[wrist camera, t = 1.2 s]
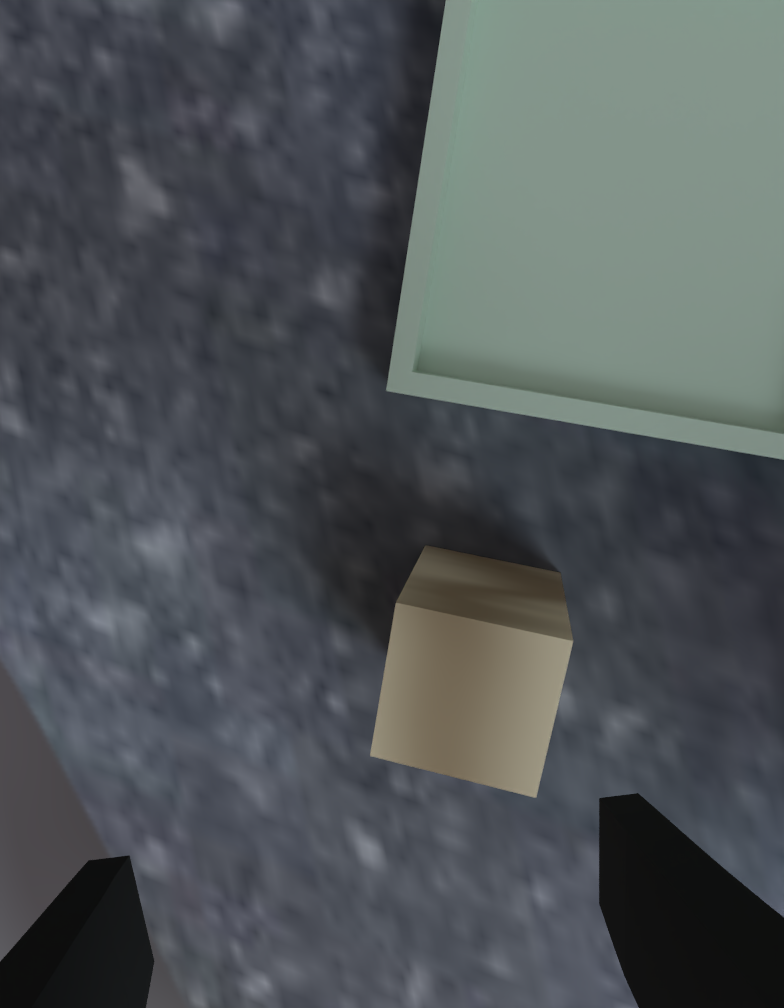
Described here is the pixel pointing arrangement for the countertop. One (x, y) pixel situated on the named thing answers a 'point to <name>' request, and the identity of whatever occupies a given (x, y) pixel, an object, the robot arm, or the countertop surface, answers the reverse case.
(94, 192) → the countertop surface
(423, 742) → the beech block
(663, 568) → the countertop surface
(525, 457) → the countertop surface
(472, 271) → the tray
